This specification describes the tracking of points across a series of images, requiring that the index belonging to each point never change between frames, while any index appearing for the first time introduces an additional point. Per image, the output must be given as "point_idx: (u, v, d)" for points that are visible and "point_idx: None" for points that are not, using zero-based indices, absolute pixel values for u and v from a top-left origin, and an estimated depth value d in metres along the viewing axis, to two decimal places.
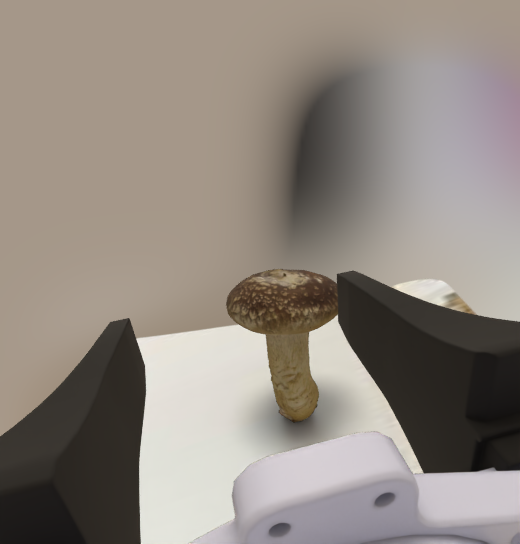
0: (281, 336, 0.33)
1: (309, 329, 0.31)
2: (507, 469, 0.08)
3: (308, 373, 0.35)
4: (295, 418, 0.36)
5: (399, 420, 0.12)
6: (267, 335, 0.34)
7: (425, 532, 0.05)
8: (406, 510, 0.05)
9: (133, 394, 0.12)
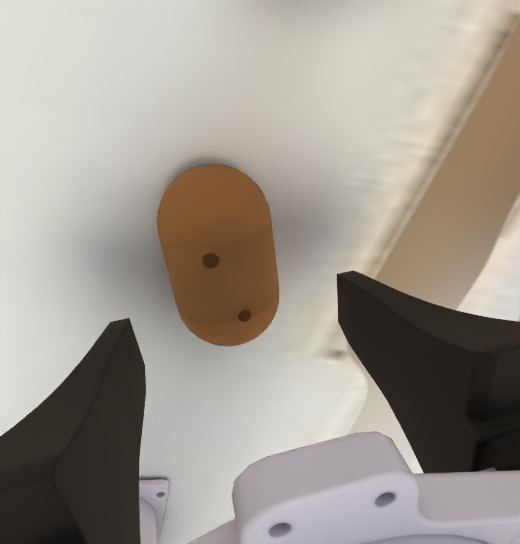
0: None
1: None
2: (507, 469, 0.08)
3: None
4: None
5: (399, 420, 0.12)
6: None
7: (425, 532, 0.05)
8: (406, 510, 0.05)
9: (133, 394, 0.12)
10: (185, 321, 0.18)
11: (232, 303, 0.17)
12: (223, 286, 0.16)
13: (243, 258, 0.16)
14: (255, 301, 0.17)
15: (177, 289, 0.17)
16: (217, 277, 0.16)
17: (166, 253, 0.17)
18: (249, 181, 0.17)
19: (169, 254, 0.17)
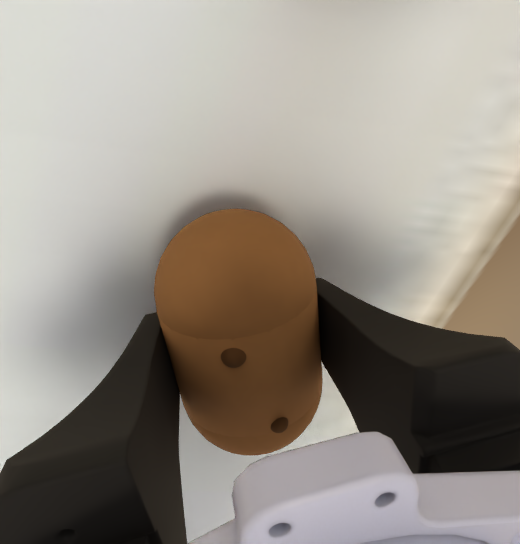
0: None
1: None
2: (507, 469, 0.08)
3: None
4: None
5: (360, 430, 0.12)
6: None
7: (425, 532, 0.05)
8: (406, 510, 0.05)
9: (171, 385, 0.12)
10: (194, 423, 0.13)
11: (262, 409, 0.12)
12: (250, 390, 0.11)
13: (280, 352, 0.11)
14: (294, 404, 0.12)
15: (183, 385, 0.12)
16: (242, 379, 0.11)
17: (167, 338, 0.12)
18: (288, 235, 0.11)
19: (171, 341, 0.11)
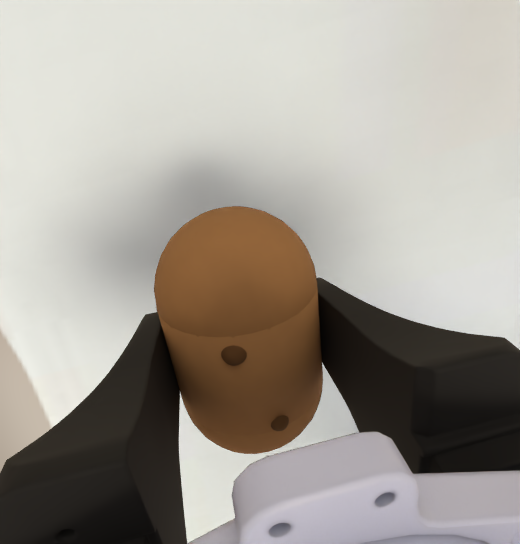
0: None
1: None
2: (507, 469, 0.08)
3: None
4: None
5: (360, 430, 0.12)
6: None
7: (425, 532, 0.05)
8: (406, 510, 0.05)
9: (171, 385, 0.12)
10: (194, 421, 0.13)
11: (262, 407, 0.12)
12: (251, 387, 0.11)
13: (281, 350, 0.11)
14: (295, 402, 0.12)
15: (183, 383, 0.12)
16: (243, 376, 0.11)
17: (167, 336, 0.12)
18: (288, 233, 0.11)
19: (172, 339, 0.11)
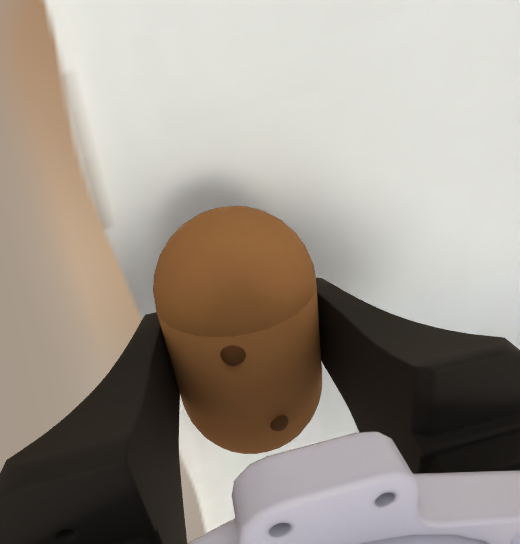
0: None
1: None
2: (507, 469, 0.08)
3: None
4: None
5: (360, 430, 0.12)
6: None
7: (425, 532, 0.05)
8: (406, 510, 0.05)
9: (171, 385, 0.12)
10: (193, 422, 0.13)
11: (261, 408, 0.12)
12: (250, 388, 0.11)
13: (280, 349, 0.11)
14: (294, 402, 0.12)
15: (182, 383, 0.12)
16: (242, 376, 0.11)
17: (166, 336, 0.12)
18: (288, 233, 0.11)
19: (171, 339, 0.11)
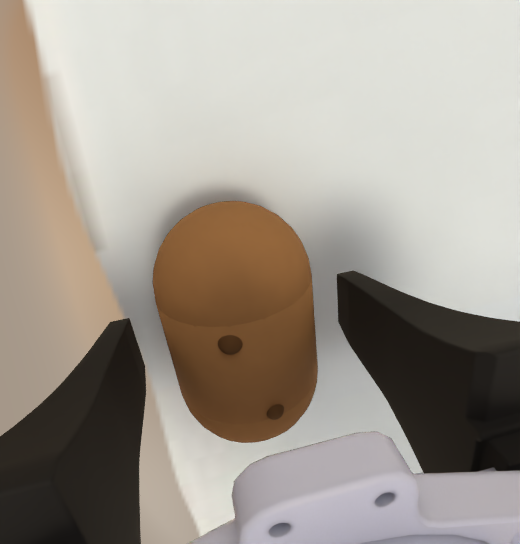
0: None
1: None
2: (507, 469, 0.08)
3: None
4: None
5: (399, 420, 0.12)
6: None
7: (425, 532, 0.05)
8: (406, 510, 0.05)
9: (133, 394, 0.12)
10: (192, 411, 0.13)
11: (258, 396, 0.12)
12: (247, 377, 0.12)
13: (276, 340, 0.11)
14: (290, 391, 0.12)
15: (181, 373, 0.13)
16: (239, 365, 0.11)
17: (166, 327, 0.12)
18: (283, 226, 0.12)
19: (170, 330, 0.12)
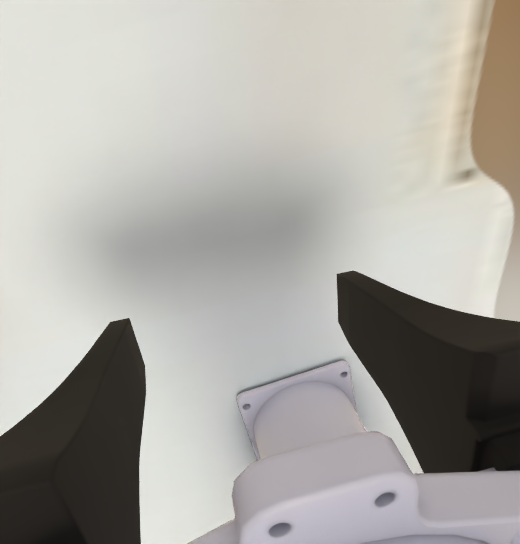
0: None
1: None
2: (507, 469, 0.08)
3: None
4: None
5: (399, 420, 0.12)
6: None
7: (425, 532, 0.05)
8: (406, 510, 0.05)
9: (133, 394, 0.12)
10: None
11: None
12: None
13: None
14: None
15: None
16: None
17: None
18: None
19: None
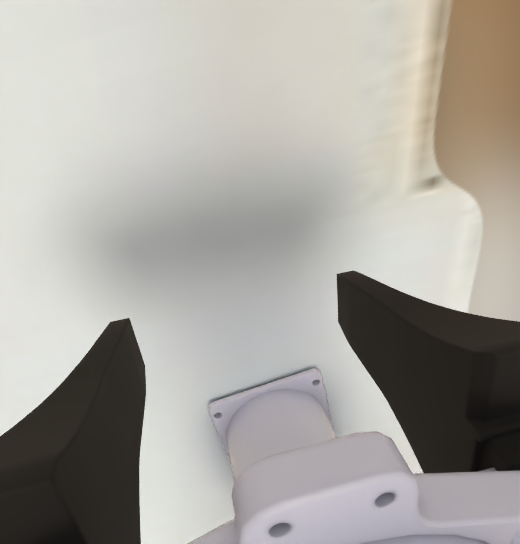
0: None
1: None
2: (507, 469, 0.08)
3: None
4: None
5: (399, 420, 0.12)
6: None
7: (425, 532, 0.05)
8: (406, 510, 0.05)
9: (133, 394, 0.12)
10: None
11: None
12: None
13: None
14: None
15: None
16: None
17: None
18: None
19: None
